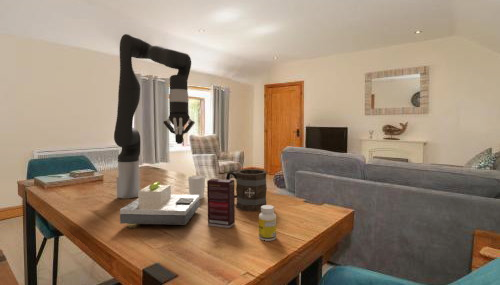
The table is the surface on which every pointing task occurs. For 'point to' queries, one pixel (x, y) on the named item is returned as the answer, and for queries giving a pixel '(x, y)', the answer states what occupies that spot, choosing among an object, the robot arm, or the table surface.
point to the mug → (250, 189)
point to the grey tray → (157, 218)
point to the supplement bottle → (267, 223)
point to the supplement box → (221, 202)
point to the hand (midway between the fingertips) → (179, 143)
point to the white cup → (197, 185)
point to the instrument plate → (160, 202)
